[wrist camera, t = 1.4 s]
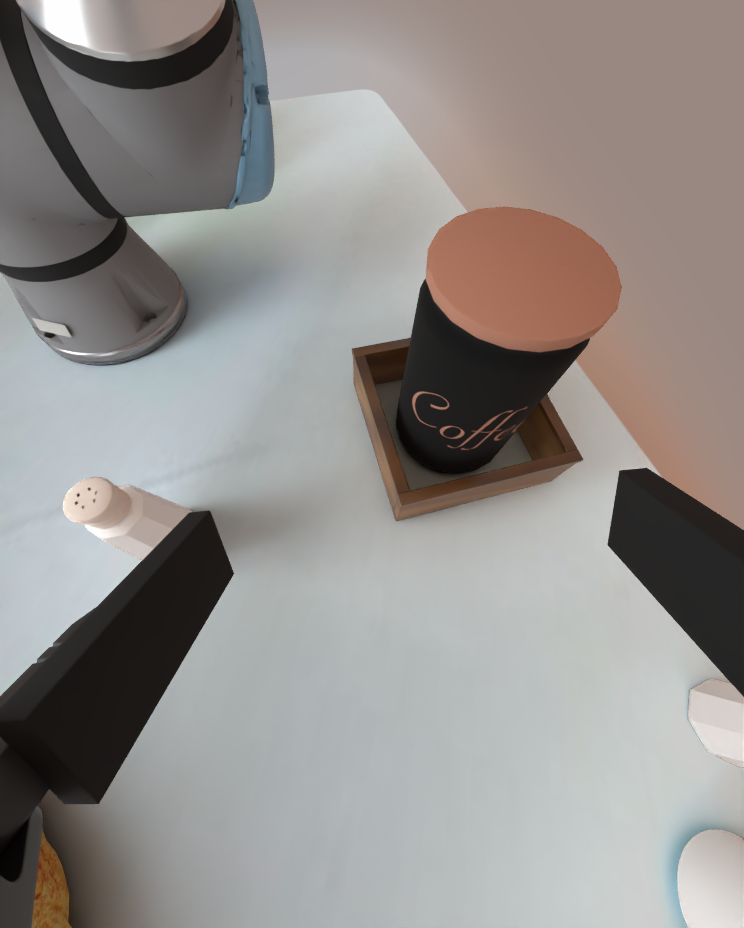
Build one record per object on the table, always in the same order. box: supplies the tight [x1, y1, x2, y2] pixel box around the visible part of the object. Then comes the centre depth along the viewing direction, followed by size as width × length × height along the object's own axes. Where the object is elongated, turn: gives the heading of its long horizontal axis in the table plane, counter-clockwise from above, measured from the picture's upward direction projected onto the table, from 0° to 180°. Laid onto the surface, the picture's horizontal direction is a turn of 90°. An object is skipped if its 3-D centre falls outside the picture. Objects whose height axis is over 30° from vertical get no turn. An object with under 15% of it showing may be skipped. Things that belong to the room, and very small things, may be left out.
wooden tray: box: [352, 338, 583, 521], centre depth 33 cm, size 16×16×5 cm
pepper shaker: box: [63, 477, 192, 560], centre depth 25 cm, size 5×5×11 cm
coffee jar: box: [396, 207, 622, 473], centre depth 27 cm, size 11×11×18 cm
